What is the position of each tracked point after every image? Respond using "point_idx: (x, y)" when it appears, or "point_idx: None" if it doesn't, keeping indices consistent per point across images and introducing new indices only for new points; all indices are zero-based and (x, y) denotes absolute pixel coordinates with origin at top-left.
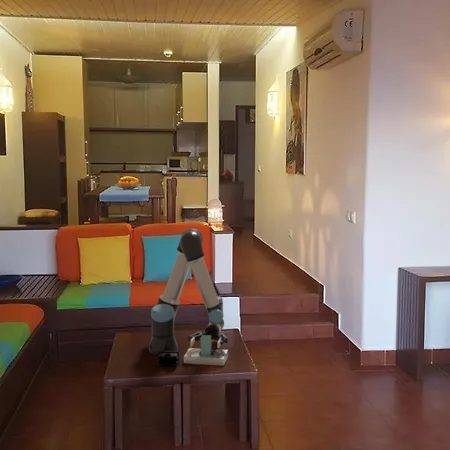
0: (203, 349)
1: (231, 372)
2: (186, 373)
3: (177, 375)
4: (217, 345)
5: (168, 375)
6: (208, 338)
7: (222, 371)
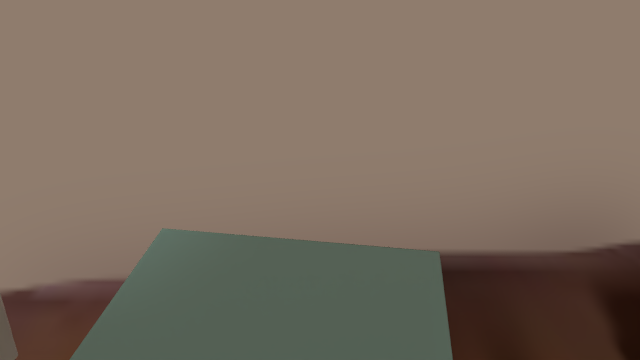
0: None
1: (16, 296)
2: (460, 281)
3: (523, 254)
4: (4, 308)
5: (600, 254)
6: (190, 233)
7: (101, 313)
